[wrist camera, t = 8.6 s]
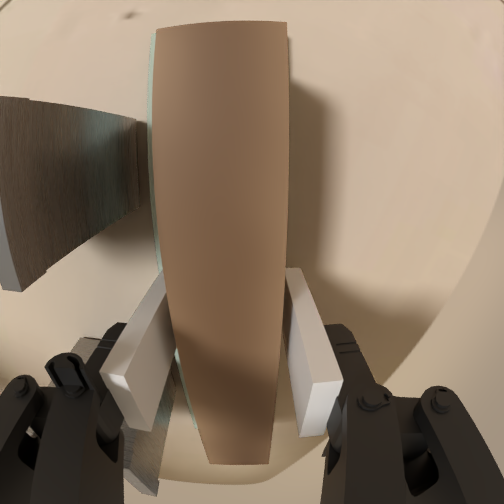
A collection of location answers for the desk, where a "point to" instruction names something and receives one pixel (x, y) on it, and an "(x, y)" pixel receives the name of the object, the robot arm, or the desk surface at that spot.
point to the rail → (224, 221)
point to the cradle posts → (71, 219)
